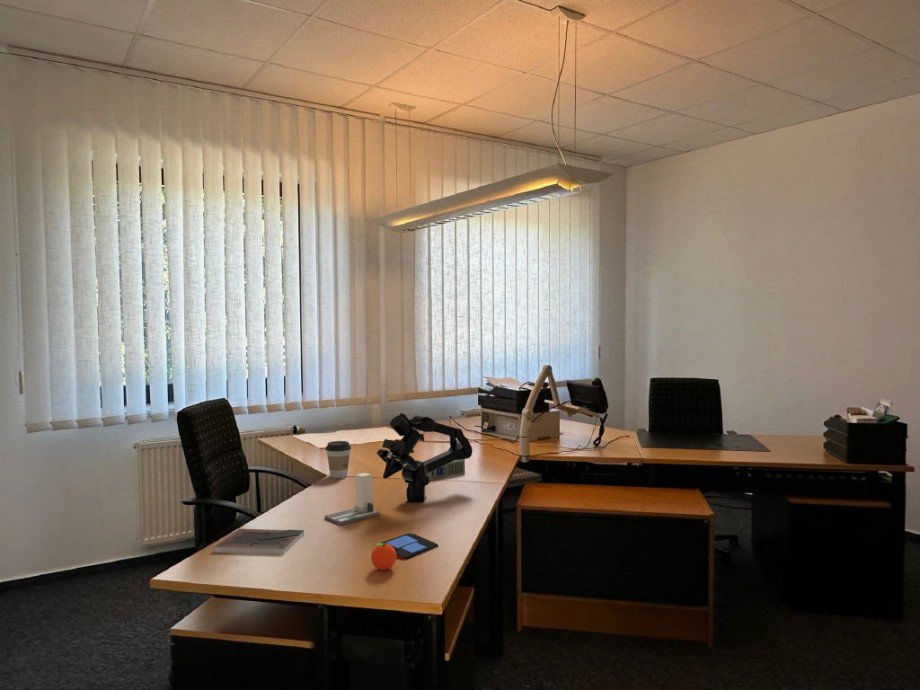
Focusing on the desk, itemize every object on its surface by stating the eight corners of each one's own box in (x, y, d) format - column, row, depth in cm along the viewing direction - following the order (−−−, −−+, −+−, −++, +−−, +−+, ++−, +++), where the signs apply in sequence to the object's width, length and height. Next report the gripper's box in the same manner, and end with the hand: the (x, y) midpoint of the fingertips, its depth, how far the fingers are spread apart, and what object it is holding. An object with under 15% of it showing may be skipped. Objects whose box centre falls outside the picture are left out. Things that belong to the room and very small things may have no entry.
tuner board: (363, 508, 227) (363, 505, 227) (379, 514, 220) (379, 511, 220) (324, 518, 216) (324, 515, 216) (340, 525, 209) (340, 521, 209)
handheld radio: (466, 474, 278) (418, 483, 264) (461, 473, 281) (414, 481, 266) (465, 459, 278) (418, 467, 264) (461, 458, 281) (414, 466, 266)
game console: (404, 562, 178) (404, 554, 178) (375, 551, 186) (375, 543, 186) (439, 548, 188) (439, 540, 188) (410, 538, 197) (410, 531, 197)
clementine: (363, 569, 171) (362, 544, 171) (379, 561, 177) (379, 536, 177) (385, 576, 167) (385, 550, 166) (401, 567, 172) (401, 542, 172)
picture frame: (304, 537, 199) (239, 535, 202) (303, 529, 199) (239, 527, 202) (283, 557, 183) (214, 554, 185) (283, 548, 183) (213, 546, 185)
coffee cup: (346, 480, 268) (345, 445, 268) (321, 479, 271) (320, 444, 270) (355, 473, 279) (355, 440, 279) (331, 472, 282) (331, 440, 281)
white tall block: (366, 506, 225) (365, 472, 224) (378, 511, 219) (377, 475, 219) (354, 509, 221) (353, 474, 221) (366, 514, 216) (365, 478, 215)
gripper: (380, 427, 237) (356, 461, 230) (410, 433, 223) (386, 469, 216) (397, 445, 242) (374, 478, 235) (427, 452, 229) (404, 487, 222)
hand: (384, 478), depth 227 cm, fingers closed
